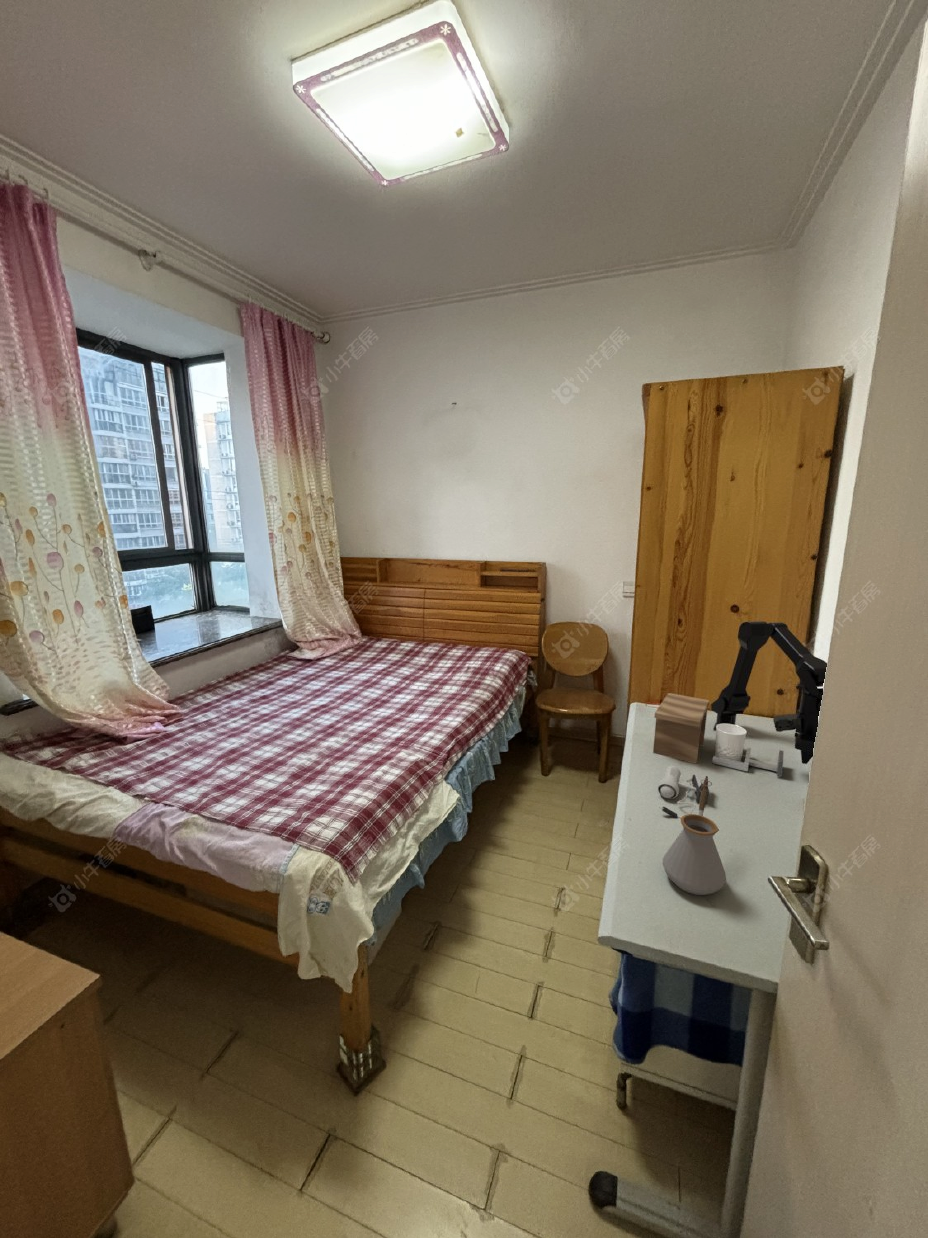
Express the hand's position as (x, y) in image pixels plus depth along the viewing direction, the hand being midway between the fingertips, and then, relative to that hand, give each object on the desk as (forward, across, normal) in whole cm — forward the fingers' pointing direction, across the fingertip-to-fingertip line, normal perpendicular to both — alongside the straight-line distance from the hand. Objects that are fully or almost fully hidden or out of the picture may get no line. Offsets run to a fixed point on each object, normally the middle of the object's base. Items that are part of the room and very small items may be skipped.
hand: (804, 763), depth 138 cm
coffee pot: (+4, +55, -20) cm, 59 cm away
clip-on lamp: (+5, +31, -26) cm, 41 cm away
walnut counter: (+4, 0, -32) cm, 32 cm away
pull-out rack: (+4, 0, -13) cm, 14 cm away
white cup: (+5, 0, -18) cm, 19 cm away
